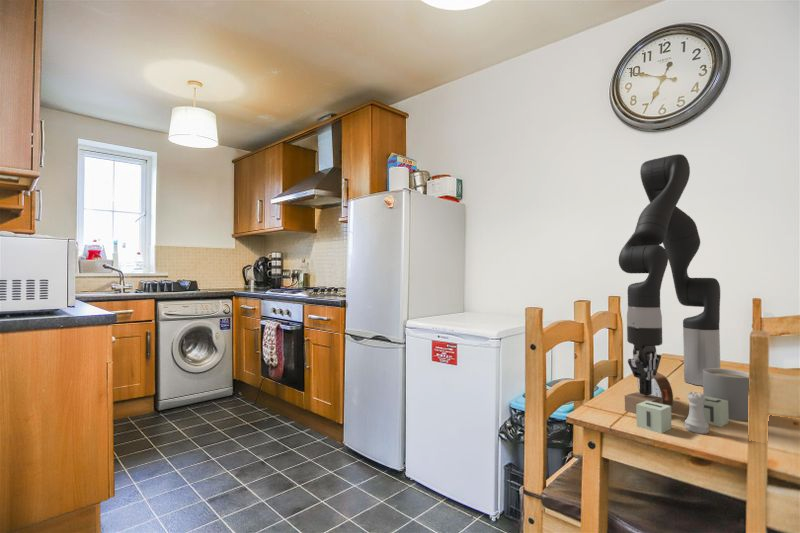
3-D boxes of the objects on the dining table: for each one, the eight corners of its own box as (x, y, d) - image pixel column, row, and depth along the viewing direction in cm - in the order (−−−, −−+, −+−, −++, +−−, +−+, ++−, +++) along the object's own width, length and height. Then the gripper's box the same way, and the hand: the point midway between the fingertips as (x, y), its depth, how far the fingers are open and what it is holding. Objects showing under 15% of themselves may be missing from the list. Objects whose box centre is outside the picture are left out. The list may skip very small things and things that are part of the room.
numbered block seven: (702, 416, 96) (702, 395, 96) (728, 422, 92) (728, 400, 92) (694, 420, 93) (693, 398, 93) (720, 427, 89) (720, 404, 89)
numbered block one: (647, 422, 92) (646, 399, 93) (671, 428, 88) (671, 405, 88) (636, 426, 90) (636, 403, 90) (661, 434, 85) (660, 409, 86)
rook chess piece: (679, 427, 89) (678, 391, 89) (697, 426, 90) (697, 390, 90) (695, 434, 85) (694, 396, 85) (715, 434, 85) (714, 396, 85)
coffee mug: (756, 424, 91) (754, 380, 91) (701, 414, 97) (700, 373, 98) (756, 409, 101) (755, 369, 101) (707, 401, 107) (706, 364, 108)
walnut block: (638, 407, 103) (637, 391, 103) (663, 414, 98) (662, 397, 98) (624, 411, 100) (624, 395, 100) (650, 418, 95) (649, 401, 95)
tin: (674, 413, 99) (674, 378, 99) (660, 412, 99) (660, 378, 99) (647, 395, 113) (646, 365, 114) (635, 394, 114) (634, 365, 114)
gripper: (640, 321, 107) (641, 386, 107) (615, 325, 100) (616, 395, 99) (672, 324, 101) (673, 393, 101) (648, 328, 93) (649, 403, 93)
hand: (645, 394), depth 100 cm, fingers closed
